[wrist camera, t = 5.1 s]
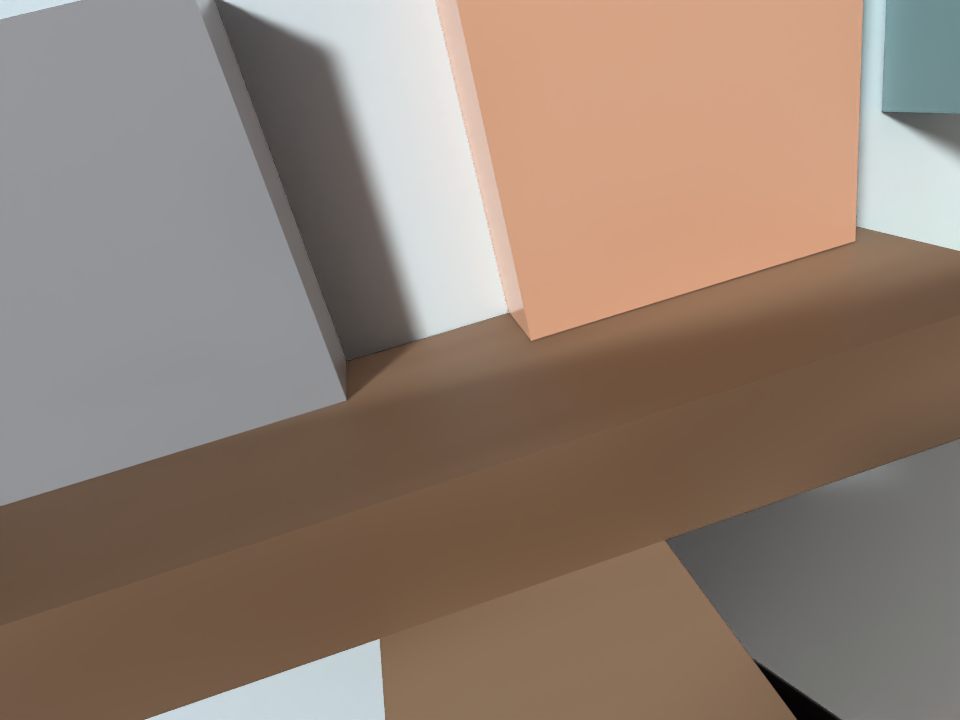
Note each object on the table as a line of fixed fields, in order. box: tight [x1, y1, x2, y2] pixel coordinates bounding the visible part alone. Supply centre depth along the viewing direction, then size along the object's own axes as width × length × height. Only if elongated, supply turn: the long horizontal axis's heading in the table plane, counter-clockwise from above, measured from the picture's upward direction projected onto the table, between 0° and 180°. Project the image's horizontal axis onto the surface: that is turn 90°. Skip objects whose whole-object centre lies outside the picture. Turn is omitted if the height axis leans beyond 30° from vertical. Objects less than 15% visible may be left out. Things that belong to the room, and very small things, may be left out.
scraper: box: [0, 227, 960, 720], centre depth 8 cm, size 8×12×6 cm
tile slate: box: [0, 0, 347, 506], centre depth 7 cm, size 4×4×2 cm
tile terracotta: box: [435, 0, 863, 341], centre depth 8 cm, size 4×4×2 cm
